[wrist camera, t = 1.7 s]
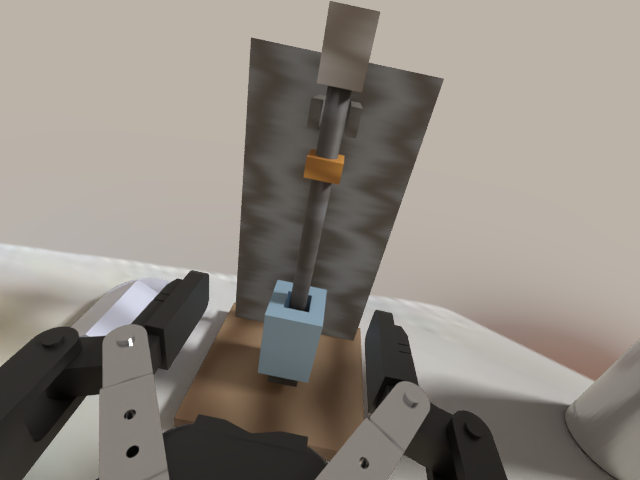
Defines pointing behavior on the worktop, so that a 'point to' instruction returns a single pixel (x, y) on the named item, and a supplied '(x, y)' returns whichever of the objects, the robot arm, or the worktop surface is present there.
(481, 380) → the worktop surface
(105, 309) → the wedge on round base
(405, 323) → the worktop surface
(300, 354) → the sleeve
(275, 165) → the grey rod stand
